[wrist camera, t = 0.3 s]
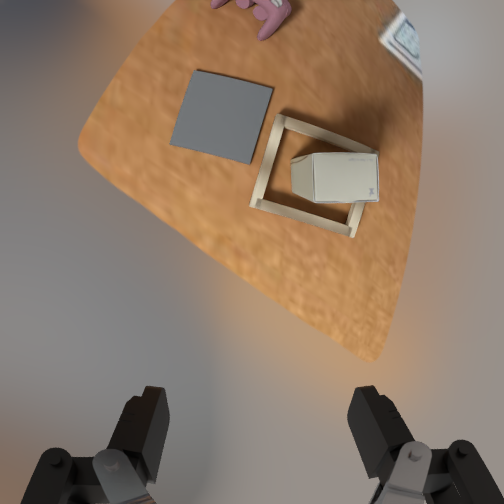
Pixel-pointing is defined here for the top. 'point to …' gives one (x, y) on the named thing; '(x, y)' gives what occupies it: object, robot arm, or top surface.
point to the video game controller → (263, 13)
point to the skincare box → (336, 177)
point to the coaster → (221, 116)
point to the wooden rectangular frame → (293, 213)
